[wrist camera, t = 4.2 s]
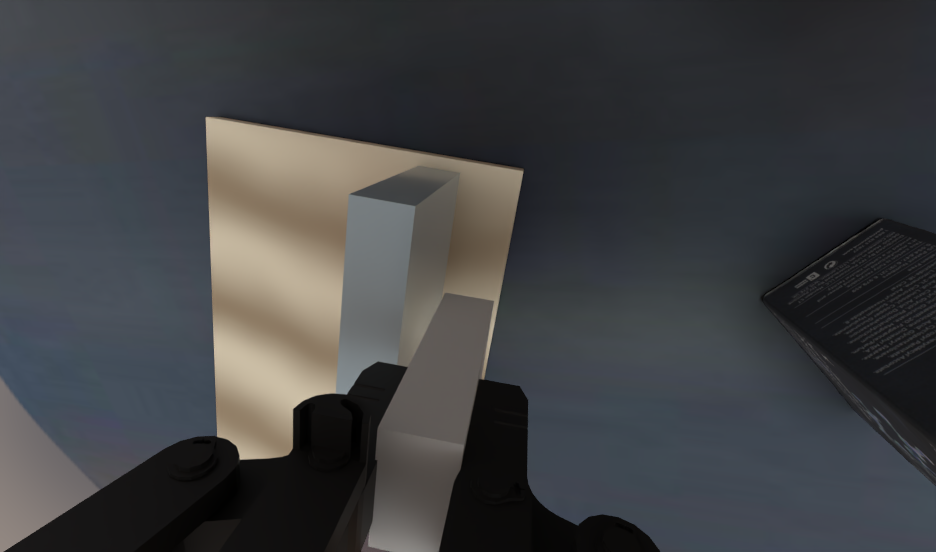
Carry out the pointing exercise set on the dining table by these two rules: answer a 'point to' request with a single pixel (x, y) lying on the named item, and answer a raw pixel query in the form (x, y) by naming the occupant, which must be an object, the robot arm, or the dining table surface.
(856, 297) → the box
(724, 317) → the dining table surface
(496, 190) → the board
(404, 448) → the robot arm
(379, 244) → the block
